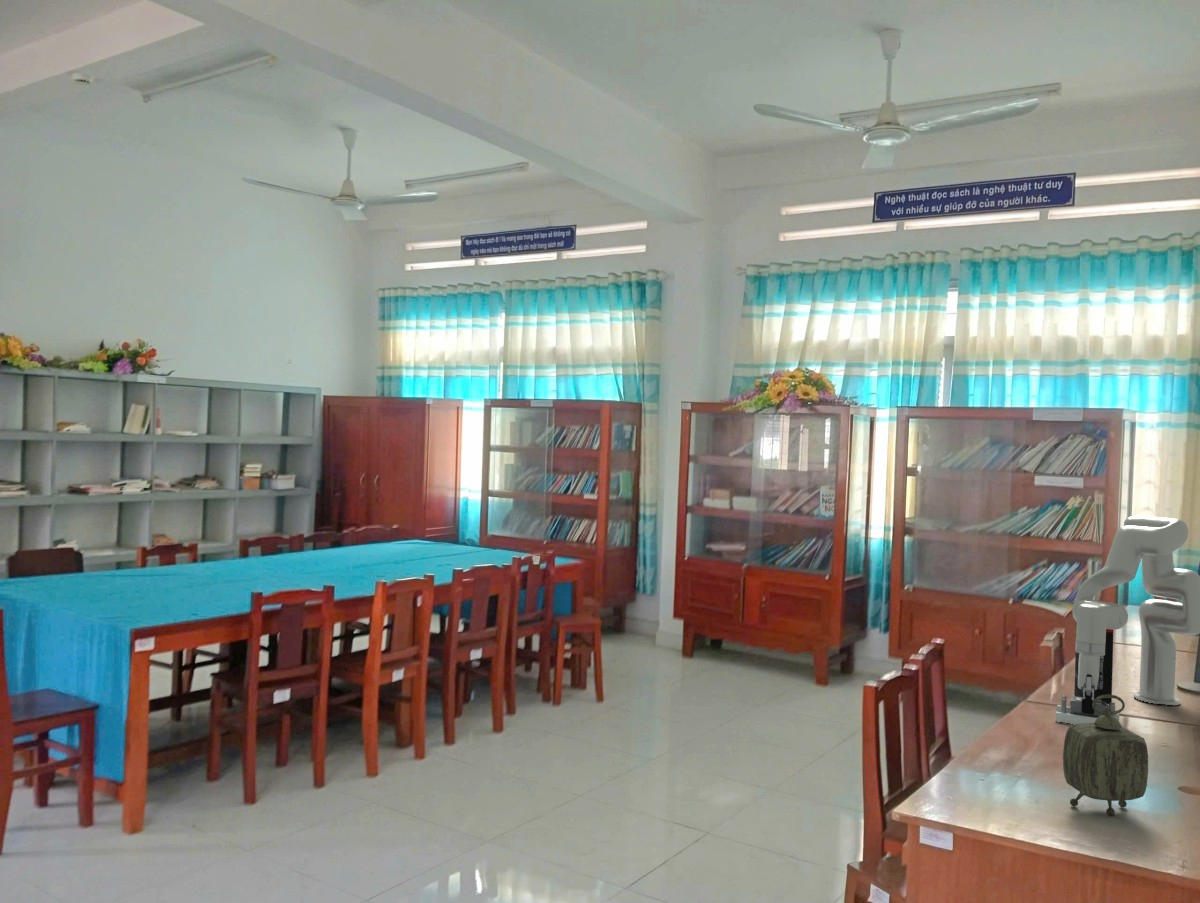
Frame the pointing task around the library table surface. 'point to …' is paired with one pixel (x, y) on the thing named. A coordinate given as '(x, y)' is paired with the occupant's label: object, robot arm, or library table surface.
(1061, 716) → the white and grey device
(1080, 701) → the block
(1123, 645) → the library table surface
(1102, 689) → the graphics card box
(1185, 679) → the library table surface
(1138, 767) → the tabletop clock
